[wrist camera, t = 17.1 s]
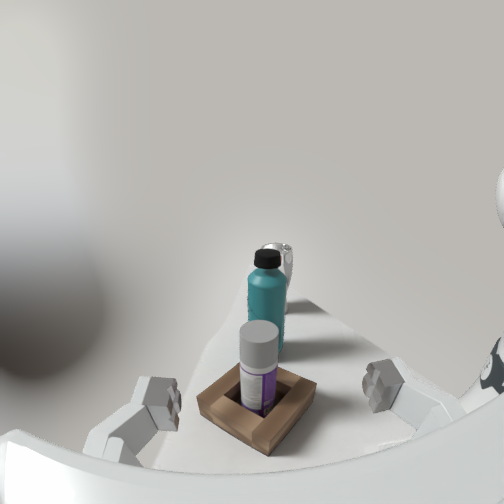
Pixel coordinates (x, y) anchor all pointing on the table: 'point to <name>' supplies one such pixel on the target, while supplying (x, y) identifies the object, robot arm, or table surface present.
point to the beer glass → (283, 262)
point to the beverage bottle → (267, 290)
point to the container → (258, 365)
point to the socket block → (248, 423)
